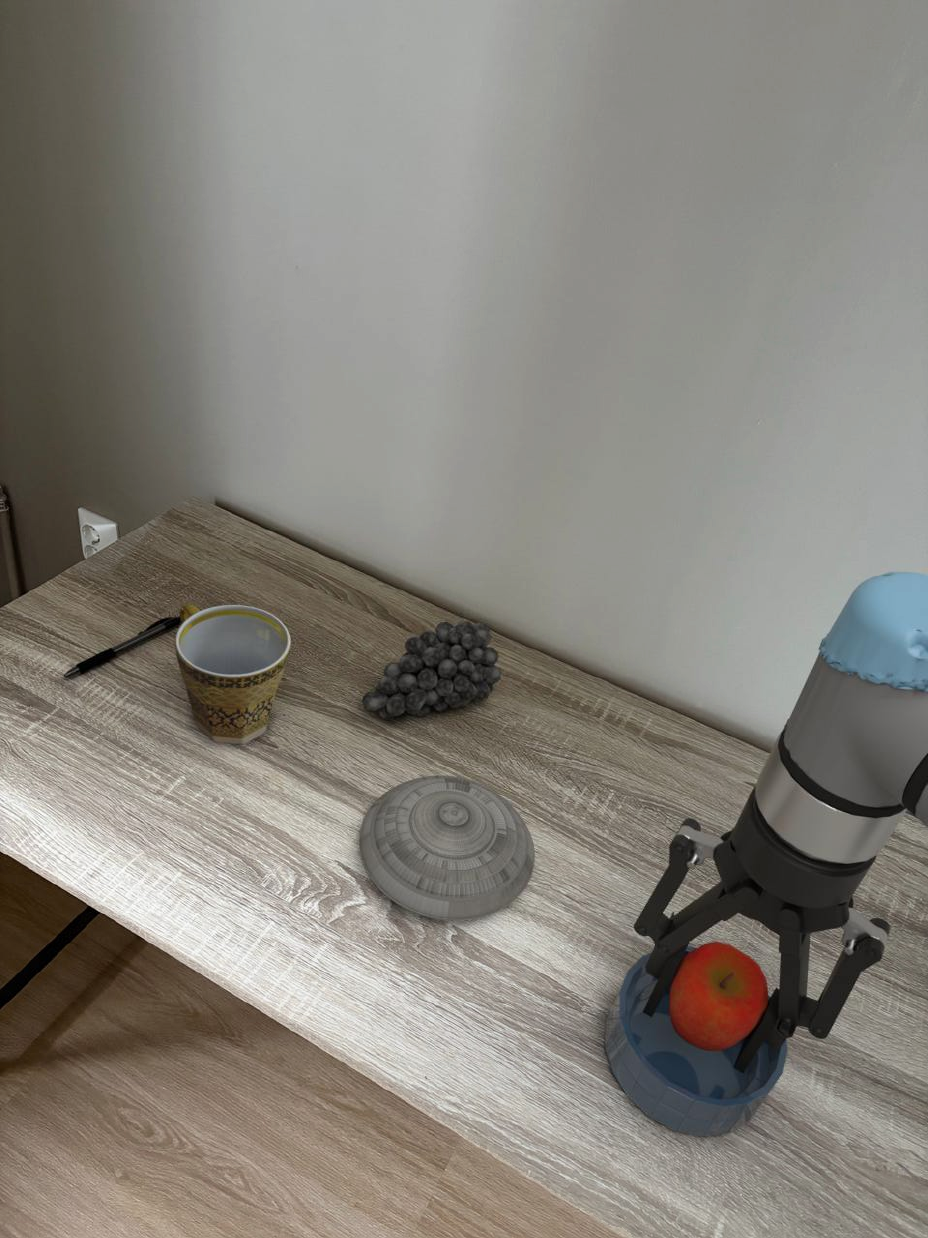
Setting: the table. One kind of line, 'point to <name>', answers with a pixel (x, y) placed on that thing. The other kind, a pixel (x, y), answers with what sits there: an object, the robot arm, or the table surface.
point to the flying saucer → (447, 848)
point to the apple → (717, 996)
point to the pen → (124, 646)
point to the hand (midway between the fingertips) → (698, 1027)
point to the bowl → (682, 1065)
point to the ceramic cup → (231, 668)
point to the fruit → (438, 672)
